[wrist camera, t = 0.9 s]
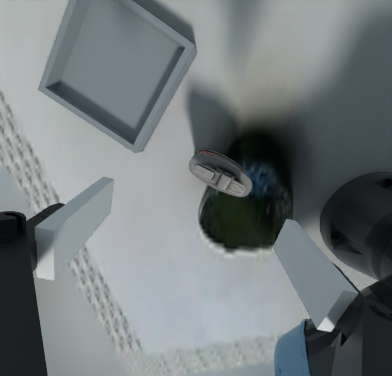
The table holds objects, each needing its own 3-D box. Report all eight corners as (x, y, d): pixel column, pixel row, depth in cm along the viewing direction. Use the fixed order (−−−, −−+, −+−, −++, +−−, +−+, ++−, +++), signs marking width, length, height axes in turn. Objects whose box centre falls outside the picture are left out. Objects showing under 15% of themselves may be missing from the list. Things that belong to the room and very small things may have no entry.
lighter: (248, 167, 31) (262, 184, 22) (237, 186, 32) (246, 210, 23) (201, 143, 31) (193, 149, 21) (191, 163, 32) (180, 177, 22)
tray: (197, 53, 28) (194, 44, 25) (142, 151, 32) (135, 153, 29) (96, -18, 27) (82, -36, 24) (54, 93, 31) (37, 89, 28)
